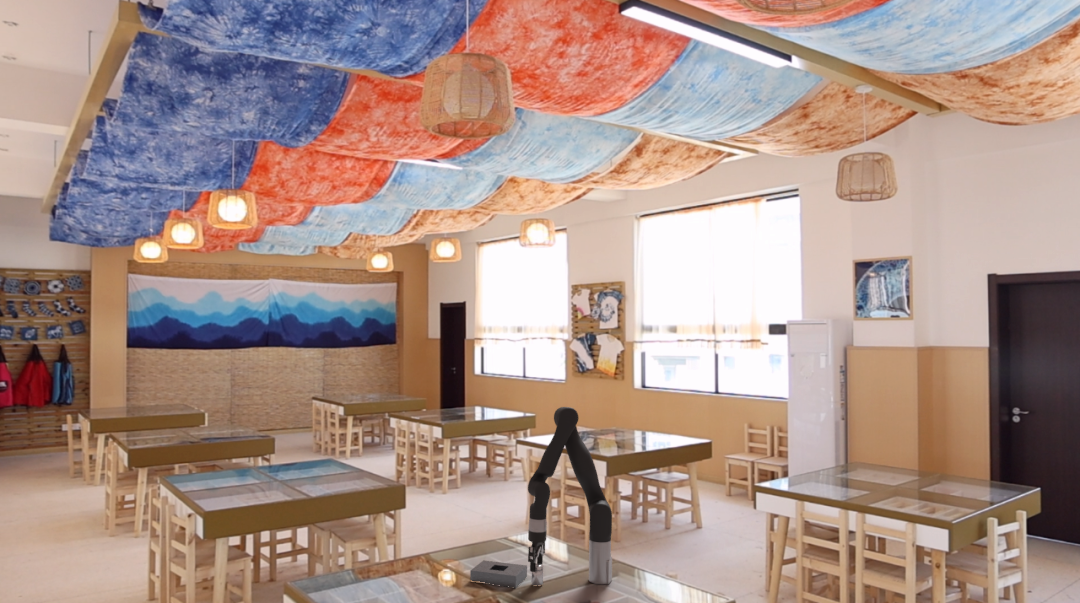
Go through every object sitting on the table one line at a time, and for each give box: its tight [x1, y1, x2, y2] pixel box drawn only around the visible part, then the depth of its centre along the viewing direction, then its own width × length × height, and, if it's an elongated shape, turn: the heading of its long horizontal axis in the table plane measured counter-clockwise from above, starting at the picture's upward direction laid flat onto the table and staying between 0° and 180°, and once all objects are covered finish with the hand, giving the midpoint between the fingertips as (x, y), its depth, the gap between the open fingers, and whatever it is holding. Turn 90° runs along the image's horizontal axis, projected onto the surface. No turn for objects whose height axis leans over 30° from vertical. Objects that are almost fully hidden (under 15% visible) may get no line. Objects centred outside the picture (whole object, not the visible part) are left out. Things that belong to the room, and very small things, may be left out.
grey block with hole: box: [469, 560, 528, 589], centre depth 313 cm, size 20×14×5 cm
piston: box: [531, 562, 544, 586], centre depth 308 cm, size 5×5×8 cm
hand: (536, 568), depth 309 cm, fingers open, 8 cm apart
